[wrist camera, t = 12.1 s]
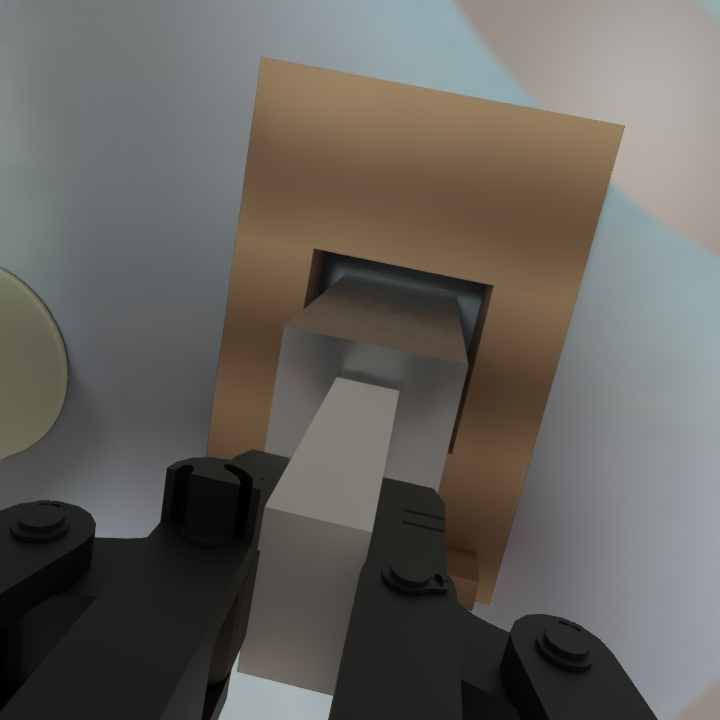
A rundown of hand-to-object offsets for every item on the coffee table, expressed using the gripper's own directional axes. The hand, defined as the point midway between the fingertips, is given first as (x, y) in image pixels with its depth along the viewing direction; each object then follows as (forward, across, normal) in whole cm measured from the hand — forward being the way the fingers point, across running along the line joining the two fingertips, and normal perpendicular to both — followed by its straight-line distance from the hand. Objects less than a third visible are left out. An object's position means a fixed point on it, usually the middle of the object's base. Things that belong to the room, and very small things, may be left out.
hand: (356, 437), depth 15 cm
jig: (+11, 0, 0) cm, 11 cm away
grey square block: (+11, 0, 0) cm, 11 cm away
